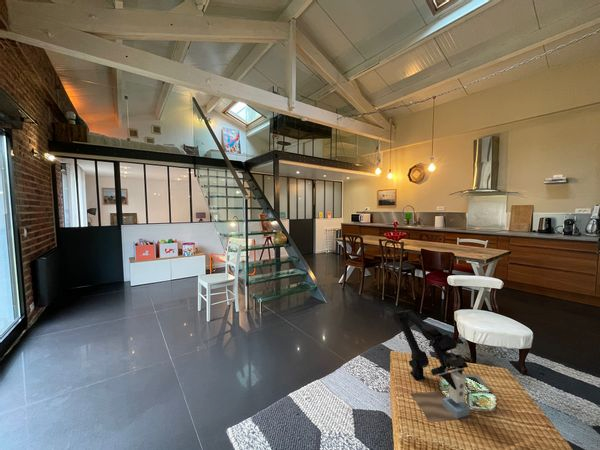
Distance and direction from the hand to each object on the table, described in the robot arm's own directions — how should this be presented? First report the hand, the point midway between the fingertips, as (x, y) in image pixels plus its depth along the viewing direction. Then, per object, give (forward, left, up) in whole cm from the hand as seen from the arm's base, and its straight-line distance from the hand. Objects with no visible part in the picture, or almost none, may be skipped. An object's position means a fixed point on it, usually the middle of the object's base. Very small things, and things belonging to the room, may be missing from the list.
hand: (459, 388), depth 115 cm
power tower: (-1, 0, -7) cm, 7 cm away
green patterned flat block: (-16, +23, -14) cm, 32 cm away
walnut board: (-5, -6, -13) cm, 15 cm away
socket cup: (-1, 0, -13) cm, 13 cm away
